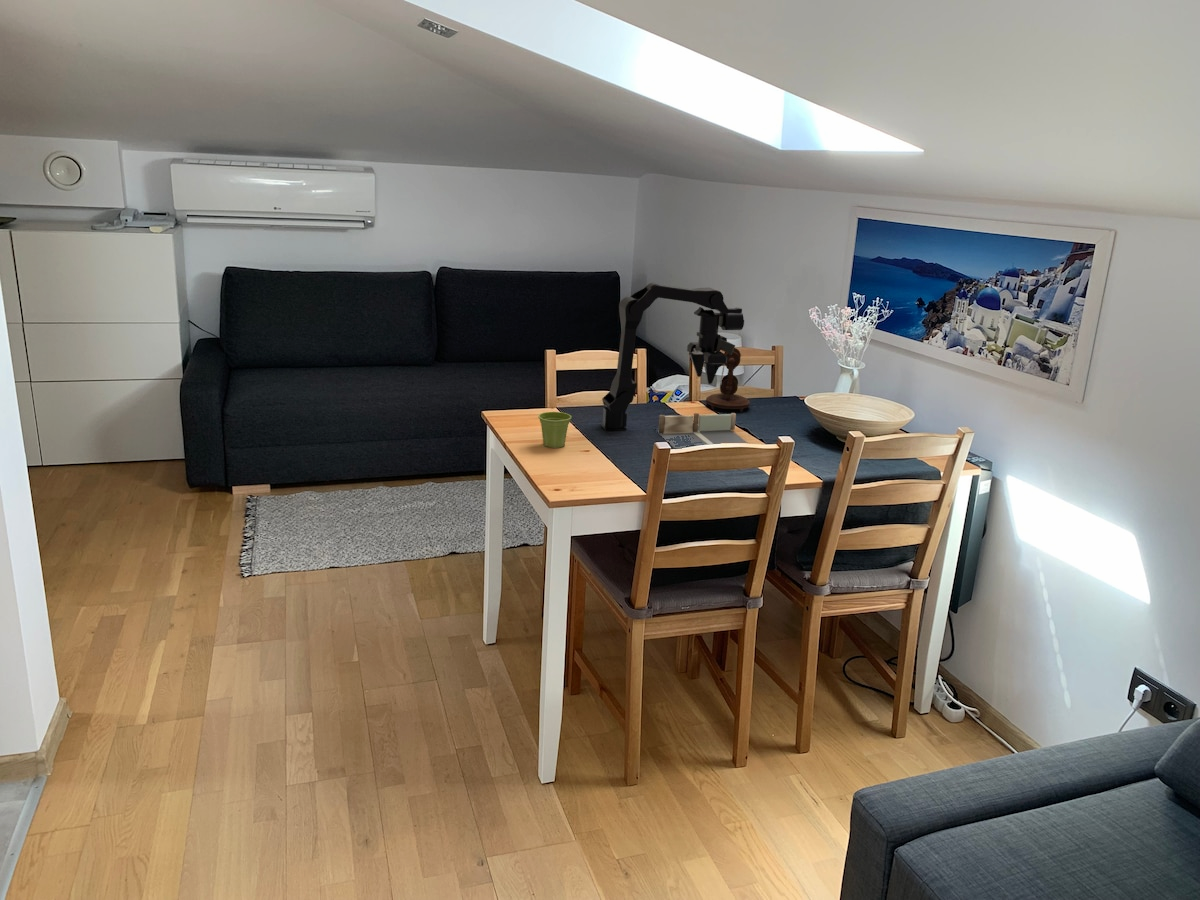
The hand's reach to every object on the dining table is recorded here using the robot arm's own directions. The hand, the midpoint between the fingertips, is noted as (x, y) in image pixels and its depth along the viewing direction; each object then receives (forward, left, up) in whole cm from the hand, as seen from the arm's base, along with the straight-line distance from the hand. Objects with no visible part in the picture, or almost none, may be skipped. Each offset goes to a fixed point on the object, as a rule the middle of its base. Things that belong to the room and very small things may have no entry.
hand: (704, 380), depth 287 cm
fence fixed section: (-10, -7, -14) cm, 19 cm away
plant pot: (-51, -15, -15) cm, 55 cm away
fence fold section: (+3, -7, -14) cm, 16 cm away
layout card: (-5, -12, -15) cm, 19 cm away
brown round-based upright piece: (+17, +20, -15) cm, 30 cm away
